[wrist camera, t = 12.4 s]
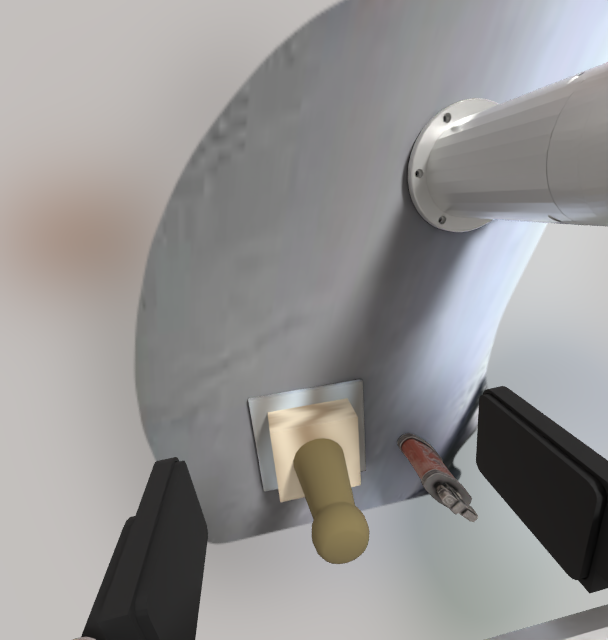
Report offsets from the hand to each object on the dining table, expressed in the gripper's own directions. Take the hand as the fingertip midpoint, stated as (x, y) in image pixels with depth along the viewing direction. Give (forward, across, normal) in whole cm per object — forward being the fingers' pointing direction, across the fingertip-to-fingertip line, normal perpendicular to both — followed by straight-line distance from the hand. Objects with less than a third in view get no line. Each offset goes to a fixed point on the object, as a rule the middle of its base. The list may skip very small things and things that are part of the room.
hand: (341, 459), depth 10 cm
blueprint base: (+27, -1, +21) cm, 35 cm away
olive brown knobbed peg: (+23, -1, +21) cm, 31 cm away
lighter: (+28, -16, +28) cm, 42 cm away
